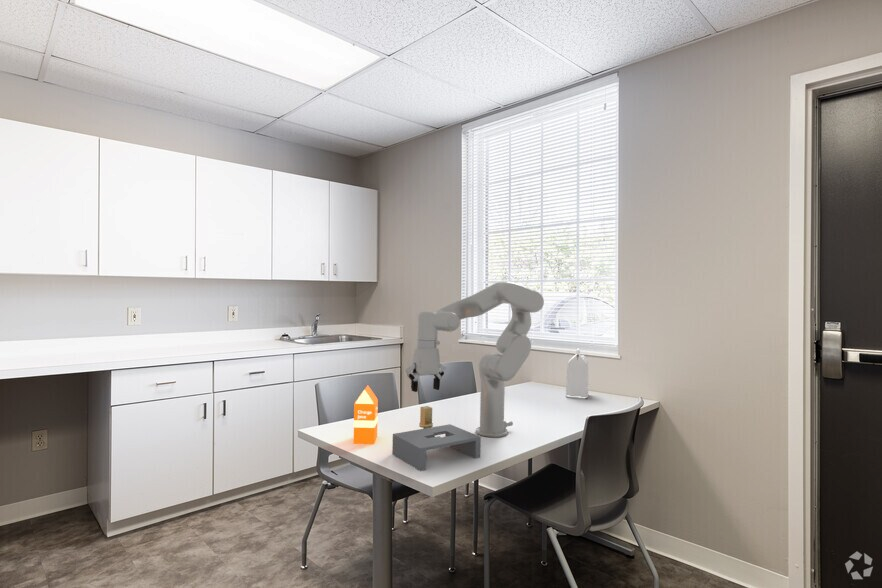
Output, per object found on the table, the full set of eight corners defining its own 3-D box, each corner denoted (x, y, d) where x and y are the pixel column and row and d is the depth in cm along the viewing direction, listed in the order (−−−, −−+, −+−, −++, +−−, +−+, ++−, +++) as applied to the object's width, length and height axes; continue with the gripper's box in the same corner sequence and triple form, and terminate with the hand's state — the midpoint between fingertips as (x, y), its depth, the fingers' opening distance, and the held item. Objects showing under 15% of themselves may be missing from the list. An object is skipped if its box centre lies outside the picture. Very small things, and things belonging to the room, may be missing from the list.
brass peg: (427, 438, 184) (428, 405, 184) (435, 441, 180) (435, 407, 180) (416, 440, 181) (417, 406, 181) (423, 443, 177) (424, 409, 177)
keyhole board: (449, 443, 178) (450, 424, 178) (480, 457, 163) (480, 436, 163) (392, 454, 165) (392, 433, 164) (420, 471, 150) (420, 448, 150)
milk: (567, 393, 273) (568, 347, 273) (588, 394, 270) (589, 348, 270) (565, 397, 262) (566, 349, 262) (587, 399, 258) (588, 350, 258)
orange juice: (377, 437, 184) (378, 384, 184) (374, 444, 175) (375, 389, 175) (357, 436, 184) (358, 384, 184) (352, 443, 175) (353, 388, 175)
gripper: (440, 343, 188) (439, 386, 188) (402, 344, 179) (400, 390, 178) (451, 345, 182) (450, 390, 182) (412, 346, 172) (410, 394, 172)
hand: (425, 390), depth 180 cm, fingers open, 9 cm apart
